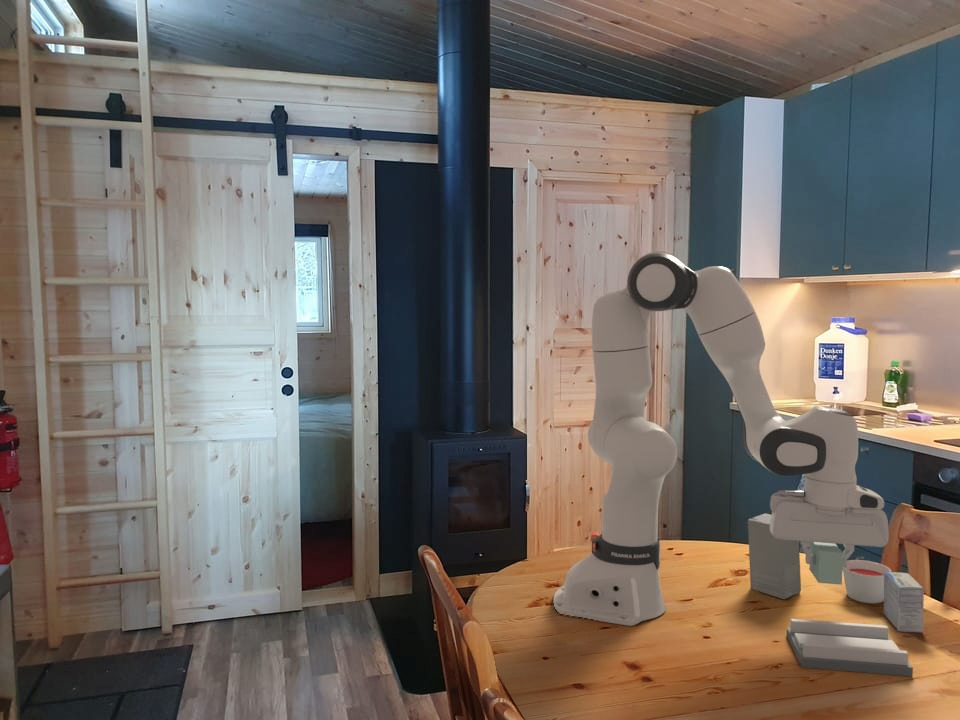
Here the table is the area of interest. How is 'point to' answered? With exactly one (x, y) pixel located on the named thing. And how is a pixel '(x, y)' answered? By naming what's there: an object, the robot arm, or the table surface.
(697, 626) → the table surface
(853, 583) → the candle
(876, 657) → the rail board
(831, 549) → the rail module
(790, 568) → the skincare box
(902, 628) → the medicine box
